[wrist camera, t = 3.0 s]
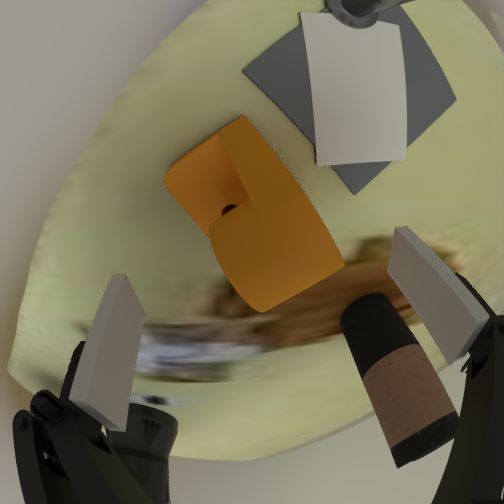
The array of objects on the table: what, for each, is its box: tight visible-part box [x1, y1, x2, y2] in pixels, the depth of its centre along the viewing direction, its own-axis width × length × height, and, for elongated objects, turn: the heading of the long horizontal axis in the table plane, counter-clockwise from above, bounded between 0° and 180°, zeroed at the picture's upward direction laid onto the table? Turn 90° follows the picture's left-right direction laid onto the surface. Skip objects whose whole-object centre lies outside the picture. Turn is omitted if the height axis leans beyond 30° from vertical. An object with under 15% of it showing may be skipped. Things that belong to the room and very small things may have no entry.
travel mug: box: [341, 294, 459, 468], centre depth 24 cm, size 8×8×20 cm
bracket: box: [164, 115, 345, 312], centre depth 17 cm, size 11×7×12 cm, turn 33°
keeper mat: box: [242, 5, 456, 195], centre depth 17 cm, size 16×17×1 cm
